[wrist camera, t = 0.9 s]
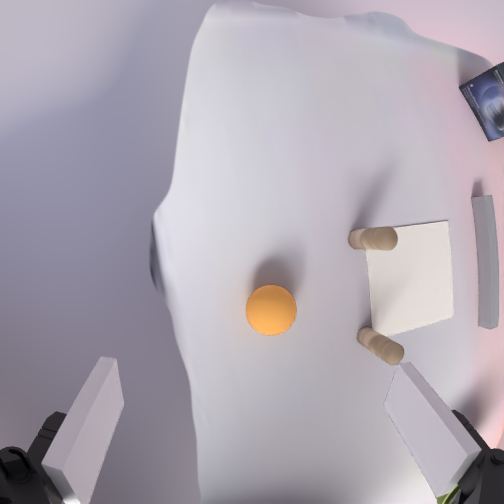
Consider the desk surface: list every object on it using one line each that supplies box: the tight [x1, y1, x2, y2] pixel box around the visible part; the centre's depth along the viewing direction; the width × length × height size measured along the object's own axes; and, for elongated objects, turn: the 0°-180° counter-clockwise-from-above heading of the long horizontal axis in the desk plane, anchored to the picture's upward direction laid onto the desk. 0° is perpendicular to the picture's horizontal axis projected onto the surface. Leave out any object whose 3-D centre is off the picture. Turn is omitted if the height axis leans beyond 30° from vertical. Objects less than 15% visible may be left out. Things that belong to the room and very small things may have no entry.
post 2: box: [357, 327, 404, 365], centre depth 35 cm, size 2×2×8 cm
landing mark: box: [366, 221, 453, 337], centre depth 39 cm, size 14×14×1 cm
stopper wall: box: [471, 195, 499, 330], centre depth 39 cm, size 20×2×3 cm, turn 7°
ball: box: [246, 285, 297, 335], centre depth 35 cm, size 6×6×6 cm
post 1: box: [348, 227, 398, 251], centre depth 35 cm, size 2×2×8 cm
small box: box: [459, 62, 504, 142], centre depth 35 cm, size 11×6×10 cm, turn 32°
